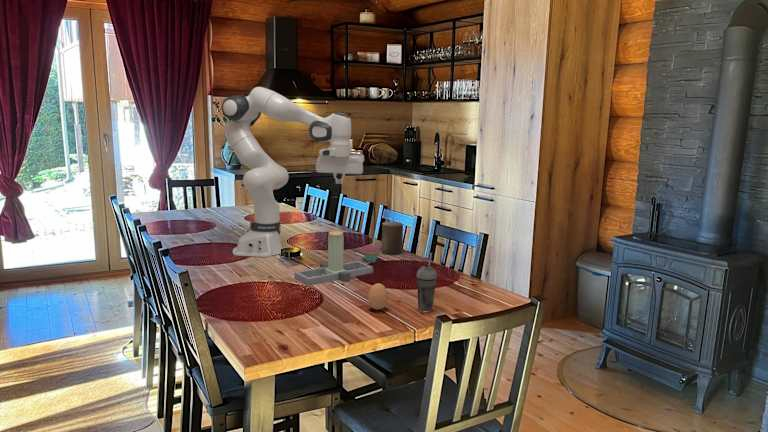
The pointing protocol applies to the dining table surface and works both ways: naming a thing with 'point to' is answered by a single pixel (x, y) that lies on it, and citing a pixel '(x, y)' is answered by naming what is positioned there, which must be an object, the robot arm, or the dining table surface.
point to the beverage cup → (426, 286)
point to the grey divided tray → (342, 276)
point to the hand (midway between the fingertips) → (339, 183)
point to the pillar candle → (392, 238)
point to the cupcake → (370, 251)
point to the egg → (378, 296)
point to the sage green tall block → (335, 252)
